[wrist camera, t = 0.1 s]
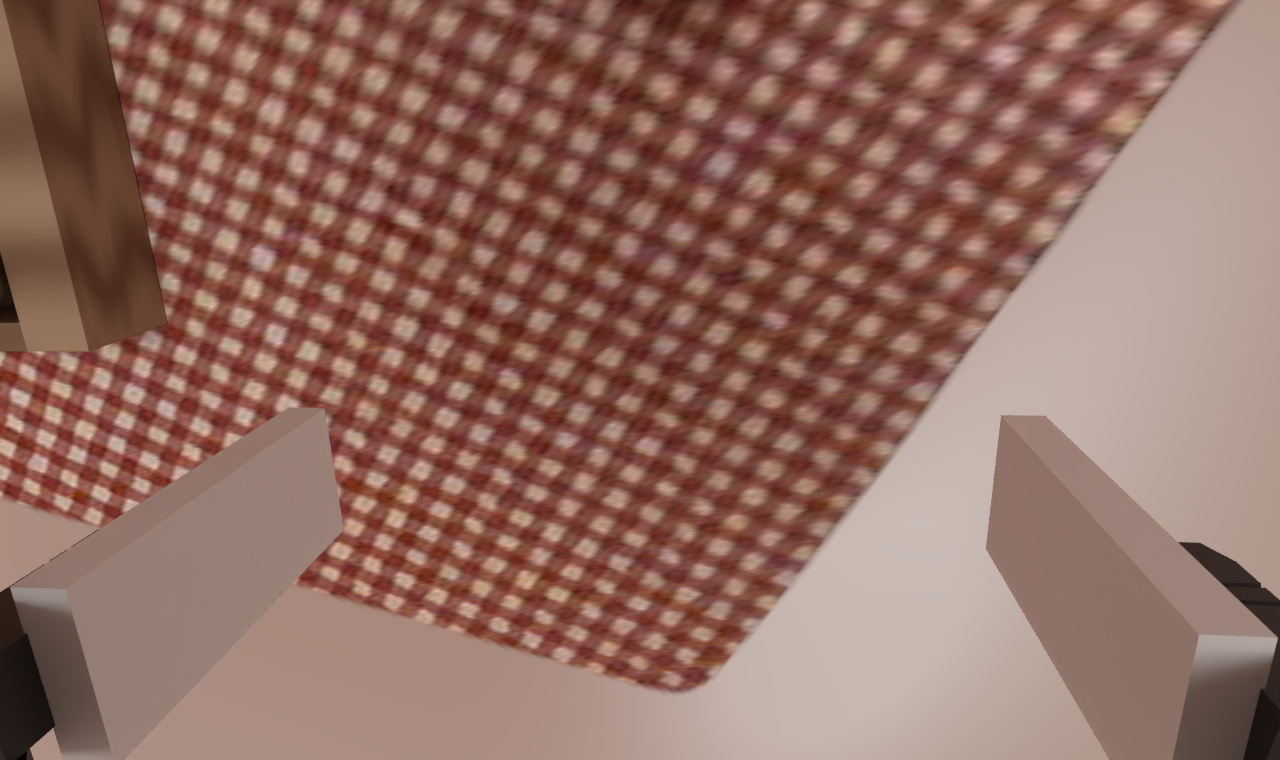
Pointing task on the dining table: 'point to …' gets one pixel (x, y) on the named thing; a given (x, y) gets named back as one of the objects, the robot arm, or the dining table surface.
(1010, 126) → the dining table surface
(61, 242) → the walnut socket block
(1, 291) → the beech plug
